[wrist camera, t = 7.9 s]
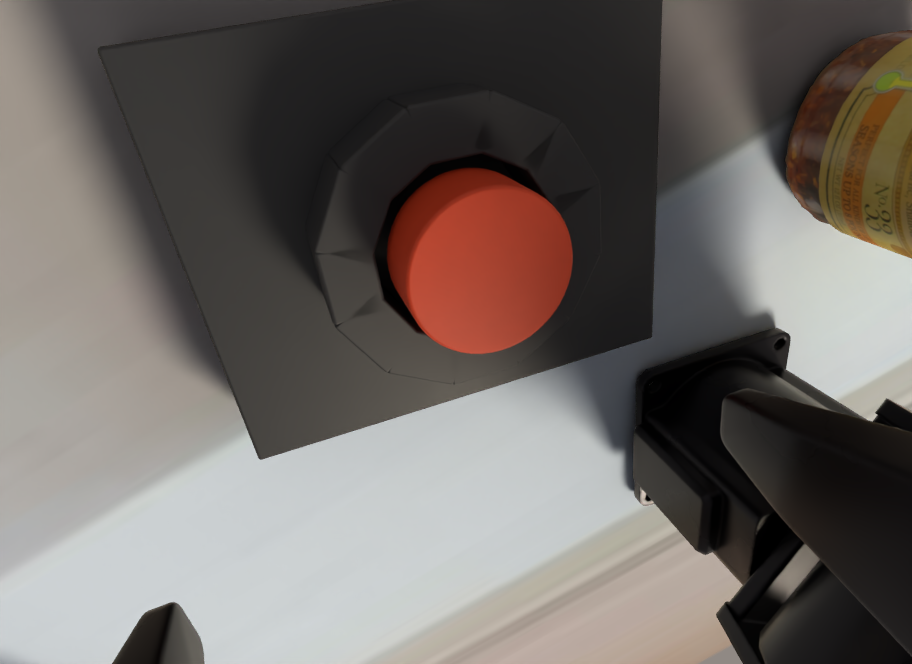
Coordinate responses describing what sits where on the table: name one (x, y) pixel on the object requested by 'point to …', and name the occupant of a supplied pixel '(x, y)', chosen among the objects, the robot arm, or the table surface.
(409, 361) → the button box
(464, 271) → the button
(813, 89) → the sauce bottle
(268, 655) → the table surface
